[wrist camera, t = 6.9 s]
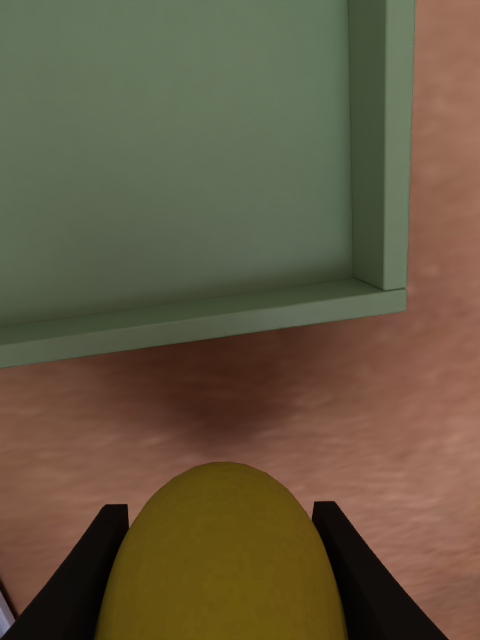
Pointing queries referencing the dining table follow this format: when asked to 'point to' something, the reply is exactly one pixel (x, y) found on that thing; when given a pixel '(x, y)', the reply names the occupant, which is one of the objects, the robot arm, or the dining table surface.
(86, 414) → the dining table surface
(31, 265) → the tray
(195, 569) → the lemon
